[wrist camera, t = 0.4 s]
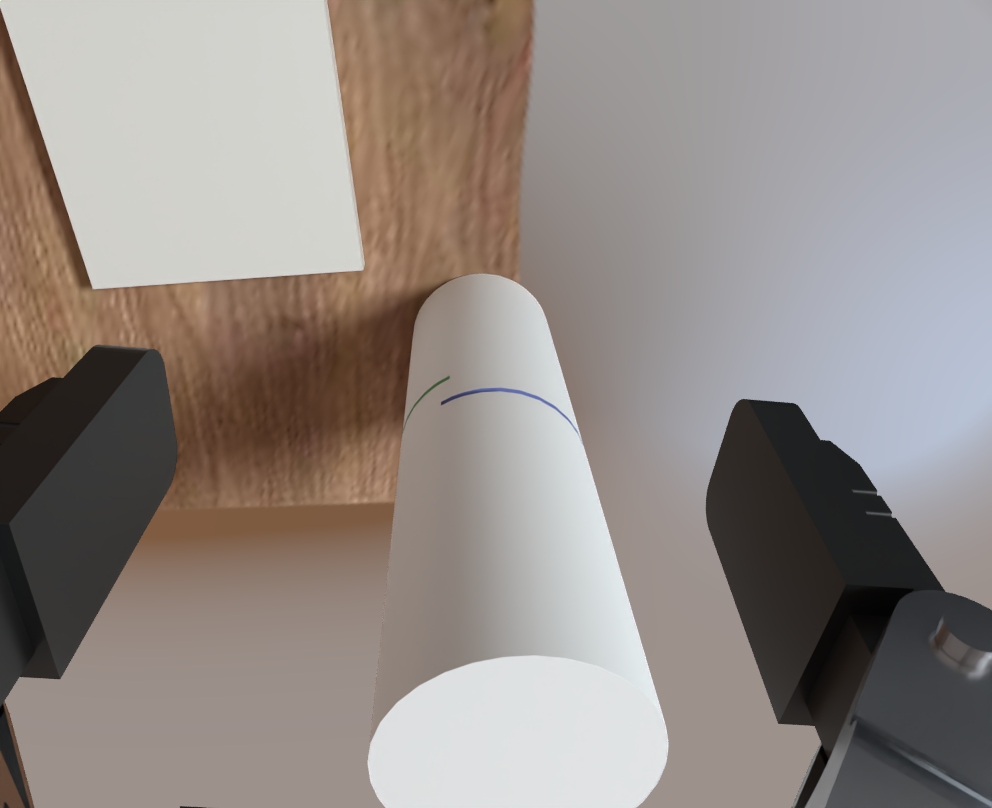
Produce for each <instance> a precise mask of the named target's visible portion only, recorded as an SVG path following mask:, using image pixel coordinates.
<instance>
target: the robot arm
mask: <svg viewBox="0 0 992 808" xmlns="http://www.w3.org/2000/svg"><path fill="white" fill-rule="evenodd" d="M176 462H177V441H176V434H175V428H174V422H173V416H172V409H171V403H170V397H169V390H168V384H167V378H166V372H165V366H164V362H163V359H162V357H161V355H160V353H159V352H158V351H157V350H155V349H146V348H134V347H122V346H110V345H96V346H94V347H92V348H91V349H90V350H89V351H88V352H87V353H86V354H85V355H84V356H83V358H82V359H81V360H80V361H79V362H78V363H77V364H76V365H75V366H74V367H73V368H72V369H71V370H70V371H69V372H68V373H67V375H66V376H65V377H64V378H54V377H52V378H50V379H48V380H46V381H45V382H43V383H41V384H39V385H37V386H35V387H33V388H31V389H29V390H27V391H26V392H24V393H22V394H20V395H18V396H16V397H15V398H14V399H13V400H12V401H11V402H10V403H9V404H8V405H7V406H6V407H5V408H4V409H3V410H2V411H1V412H0V808H34V804H33V800H32V796H31V793H30V789H29V785H28V781H27V778H26V774H25V770H24V766H23V763H22V759H21V755H20V751H19V748H18V744H17V740H16V736H15V732H14V728H13V725H12V721H11V718H10V713H9V711H8V709H7V706H6V703H5V699H6V697H7V696H8V694H9V693H10V691H11V689H12V688H13V686H14V684H15V683H16V681H17V680H18V678H19V677H31V678H49V679H60V678H61V677H62V675H63V673H64V672H65V670H66V668H67V666H68V664H69V663H70V661H71V659H72V657H73V656H74V654H75V652H76V650H77V649H78V647H79V645H80V643H81V641H82V640H83V638H84V636H85V635H86V633H87V631H88V629H89V627H90V626H91V624H92V622H93V621H94V619H95V617H96V615H97V614H98V612H99V610H100V608H101V606H102V605H103V603H104V601H105V599H106V598H107V596H108V594H109V593H110V591H111V589H112V587H113V585H114V584H115V582H116V580H117V578H118V577H119V575H120V573H121V571H122V570H123V568H124V566H125V565H126V563H127V561H128V559H129V557H130V556H131V554H132V552H133V550H134V549H135V547H136V545H137V543H138V542H139V540H140V538H141V536H142V535H143V533H144V531H145V529H146V528H147V526H148V524H149V522H150V520H151V519H152V517H153V515H154V514H155V512H156V510H157V508H158V507H159V505H160V503H161V501H162V500H163V498H164V496H165V494H166V493H167V491H168V489H169V487H170V485H171V483H172V480H173V477H174V473H175V469H176ZM891 514H892V512H891V510H890V509H889V507H888V506H887V504H886V503H885V501H884V500H883V498H882V497H881V496H877V490H876V488H875V487H874V485H873V484H872V482H871V481H870V479H869V478H868V476H867V475H866V473H865V472H864V470H863V469H862V467H861V466H860V464H858V463H857V462H855V460H853V459H852V458H851V457H850V456H848V455H847V454H846V453H844V452H843V451H842V450H841V449H840V448H838V447H837V446H836V445H834V444H833V443H832V442H831V441H825V440H820V439H819V437H818V436H817V434H816V433H815V431H814V429H813V428H812V426H811V425H810V423H809V421H808V420H807V418H806V417H805V415H804V414H803V412H802V410H801V409H800V408H799V406H798V405H796V404H794V403H784V402H772V401H760V400H748V399H742V400H740V401H738V402H737V403H736V405H735V407H734V409H733V411H732V413H731V416H730V419H729V422H728V426H727V428H726V432H725V435H724V438H723V441H722V444H721V447H720V450H719V454H718V457H717V460H716V463H715V466H714V469H713V472H712V476H711V479H710V482H709V485H708V490H707V497H706V516H707V523H708V527H709V530H710V533H711V536H712V539H713V541H714V545H715V547H716V550H717V553H718V556H719V558H720V561H721V564H722V567H723V570H724V573H725V575H726V578H727V581H728V584H729V586H730V590H731V592H732V595H733V598H734V601H735V604H736V606H737V609H738V612H739V614H740V618H741V620H742V623H743V626H744V629H745V631H746V634H747V637H748V640H749V643H750V645H751V648H752V651H753V654H754V657H755V660H756V662H757V665H758V668H759V671H760V674H761V676H762V679H763V682H764V685H765V688H766V690H767V693H768V696H769V699H770V702H771V704H772V707H773V710H774V713H775V716H776V719H777V721H778V724H793V725H810V726H815V728H816V730H817V733H818V735H819V738H820V740H821V744H820V746H819V747H818V749H817V751H816V753H815V755H814V756H813V759H812V760H811V763H810V765H809V768H808V770H807V772H806V775H805V777H804V779H803V782H802V784H801V786H800V789H799V791H798V793H797V796H796V798H795V800H794V803H793V805H792V807H791V808H992V610H990V609H989V608H987V607H985V606H983V605H981V604H979V603H977V602H975V601H973V600H970V599H968V598H966V597H963V596H959V595H956V594H953V593H949V592H945V590H944V589H943V587H942V586H941V584H940V583H939V581H938V580H937V578H936V577H935V575H934V574H933V572H932V571H931V569H930V568H929V566H928V565H927V564H926V562H925V561H924V559H923V558H922V556H921V555H920V553H919V552H918V550H917V549H916V548H915V546H914V545H913V543H912V541H911V540H910V539H909V537H908V536H907V534H906V532H905V531H904V529H903V528H902V527H901V525H900V524H899V522H898V521H897V519H896V518H892V517H891ZM180 808H203V807H182V806H181V807H180Z"/></svg>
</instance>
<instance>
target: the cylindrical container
mask: <svg viewBox="0 0 992 808" xmlns="http://www.w3.org/2000/svg"><path fill="white" fill-rule="evenodd" d="M668 746H669V743H668V736H667V730H666V725H665V722H664V719H663V715H662V711H661V708H660V705H659V702H658V698H657V695H656V691H655V688H654V684H653V681H652V677H651V674H650V671H649V667H648V664H647V661H646V657H645V654H644V650H643V647H642V644H641V640H640V637H639V633H638V630H637V627H636V623H635V620H634V617H633V613H632V609H631V606H630V603H629V599H628V596H627V592H626V589H625V586H624V582H623V579H622V575H621V572H620V569H619V565H618V562H617V558H616V555H615V552H614V548H613V545H612V541H611V538H610V535H609V531H608V528H607V525H606V521H605V518H604V514H603V511H602V507H601V504H600V501H599V497H598V494H597V490H596V487H595V484H594V480H593V477H592V473H591V470H590V467H589V463H588V460H587V456H586V453H585V450H584V447H583V443H582V439H581V436H580V433H579V429H578V426H577V422H576V419H575V415H574V412H573V409H572V405H571V402H570V398H569V395H568V392H567V388H566V385H565V382H564V378H563V375H562V371H561V368H560V365H559V361H558V358H557V354H556V351H555V347H554V344H553V341H552V337H551V334H550V331H549V327H548V324H547V320H546V317H545V315H544V312H543V310H542V308H541V306H540V305H539V303H538V302H537V300H536V299H535V297H534V296H532V294H530V293H529V292H528V291H527V290H526V289H525V288H524V287H522V286H521V285H519V284H518V283H516V282H514V281H512V280H510V279H507V278H504V277H502V276H498V275H491V274H471V275H466V276H462V277H458V278H456V279H453V280H451V281H449V282H447V283H445V284H444V285H442V286H441V287H439V288H438V289H436V290H435V291H434V292H433V293H432V294H431V295H430V296H429V297H428V298H427V299H426V301H425V302H424V304H423V305H422V307H421V309H420V310H419V313H418V315H417V318H416V321H415V324H414V332H413V340H412V349H411V359H410V368H409V378H408V387H407V396H406V406H405V415H404V425H403V435H402V443H401V453H400V462H399V472H398V481H397V490H396V500H395V509H394V519H393V529H392V537H391V547H390V556H389V566H388V576H387V584H386V594H385V604H384V613H383V622H382V632H381V642H380V651H379V660H378V669H377V678H376V688H375V697H374V707H373V717H372V726H371V736H370V744H369V753H368V770H369V775H370V782H371V784H372V786H373V788H374V790H375V793H376V795H377V797H378V799H379V800H380V801H381V803H382V804H383V805H384V806H385V807H386V808H636V807H637V806H638V805H640V804H641V803H642V802H643V801H644V800H645V799H646V797H647V796H648V795H649V793H650V792H651V791H652V789H653V788H654V787H655V786H656V784H657V783H658V781H659V779H660V777H661V774H662V772H663V770H664V767H665V765H666V761H667V754H668Z"/></svg>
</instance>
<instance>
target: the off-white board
mask: <svg viewBox="0 0 992 808" xmlns="http://www.w3.org/2000/svg"><path fill="white" fill-rule="evenodd" d="M0 8H1V11H2V14H3V17H4V20H5V23H6V27H7V30H8V33H9V36H10V39H11V42H12V45H13V48H14V51H15V54H16V57H17V60H18V63H19V66H20V69H21V72H22V75H23V78H24V81H25V84H26V87H27V90H28V93H29V96H30V99H31V102H32V105H33V108H34V112H35V115H36V118H37V121H38V124H39V127H40V130H41V133H42V136H43V139H44V142H45V145H46V148H47V151H48V154H49V157H50V160H51V163H52V166H53V169H54V172H55V175H56V178H57V181H58V184H59V187H60V190H61V193H62V197H63V200H64V203H65V206H66V209H67V212H68V215H69V218H70V221H71V224H72V227H73V230H74V233H75V236H76V239H77V242H78V245H79V248H80V251H81V254H82V257H83V260H84V263H85V266H86V269H87V272H88V275H89V278H90V282H91V285H92V288H93V289H103V288H117V287H131V286H146V285H160V284H174V283H188V282H203V281H217V280H231V279H245V278H259V277H274V276H288V275H302V274H316V273H331V272H345V271H359V270H363V268H364V265H365V261H364V254H363V247H362V240H361V233H360V226H359V219H358V212H357V205H356V199H355V192H354V185H353V178H352V171H351V164H350V157H349V150H348V143H347V136H346V129H345V122H344V115H343V108H342V101H341V94H340V87H339V80H338V73H337V66H336V59H335V52H334V46H333V39H332V32H331V25H330V18H329V11H328V4H327V0H0Z"/></svg>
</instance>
